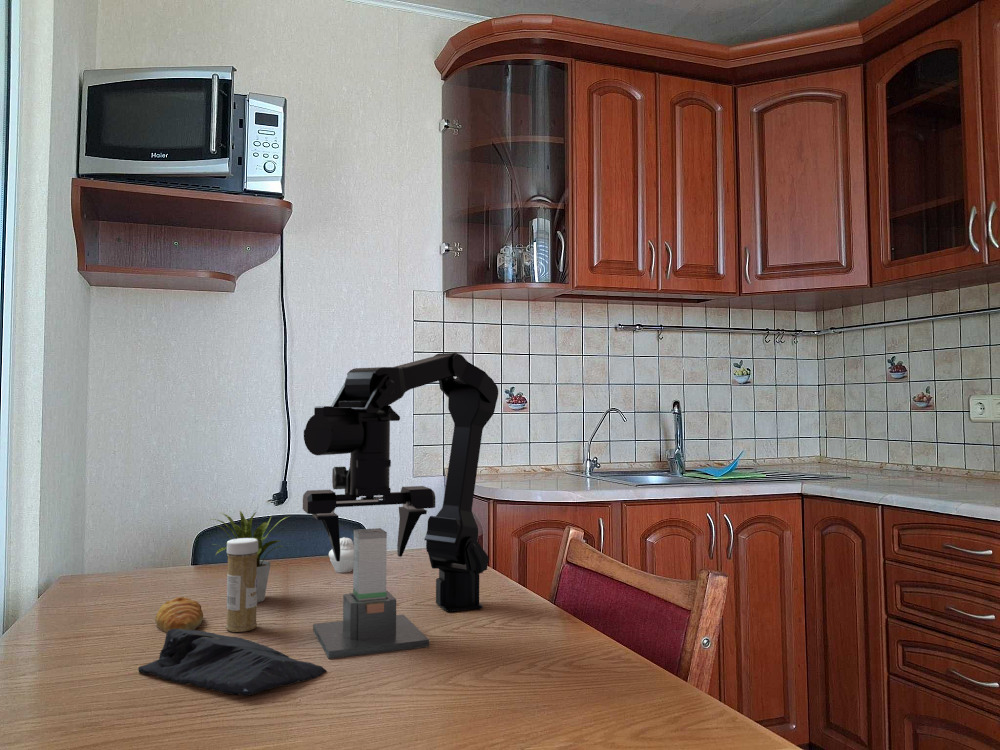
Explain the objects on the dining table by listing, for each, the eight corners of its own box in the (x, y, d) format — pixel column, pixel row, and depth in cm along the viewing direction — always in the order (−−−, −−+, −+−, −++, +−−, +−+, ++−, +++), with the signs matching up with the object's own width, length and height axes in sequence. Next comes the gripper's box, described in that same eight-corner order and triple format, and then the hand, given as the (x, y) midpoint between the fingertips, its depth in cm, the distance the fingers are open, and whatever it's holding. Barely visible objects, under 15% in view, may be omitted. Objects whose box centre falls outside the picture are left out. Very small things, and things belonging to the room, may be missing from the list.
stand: (403, 620, 120) (403, 582, 120) (429, 646, 107) (429, 603, 107) (313, 630, 115) (313, 590, 115) (328, 659, 102) (329, 613, 102)
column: (379, 595, 114) (380, 528, 114) (386, 601, 110) (386, 532, 110) (353, 597, 112) (353, 529, 113) (358, 604, 109) (359, 534, 109)
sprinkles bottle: (260, 629, 115) (262, 540, 116) (229, 634, 112) (231, 543, 113) (252, 622, 119) (253, 536, 119) (222, 627, 116) (223, 538, 117)
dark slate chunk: (232, 715, 85) (233, 671, 85) (128, 674, 97) (129, 636, 98) (336, 676, 97) (337, 638, 97) (232, 644, 110) (233, 610, 110)
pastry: (208, 632, 114) (208, 607, 115) (159, 639, 111) (160, 613, 111) (198, 617, 123) (199, 593, 123) (153, 623, 119) (153, 598, 119)
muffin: (355, 574, 153) (356, 539, 153) (325, 574, 153) (325, 539, 154) (361, 568, 159) (361, 534, 160) (332, 567, 159) (332, 534, 160)
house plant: (179, 605, 129) (181, 508, 130) (236, 587, 142) (237, 499, 142) (246, 614, 124) (248, 513, 124) (299, 594, 136) (300, 503, 137)
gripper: (416, 448, 123) (415, 545, 123) (298, 450, 116) (296, 553, 116) (436, 452, 113) (436, 557, 112) (308, 454, 106) (307, 567, 105)
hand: (369, 558), depth 112 cm, fingers open, 9 cm apart
